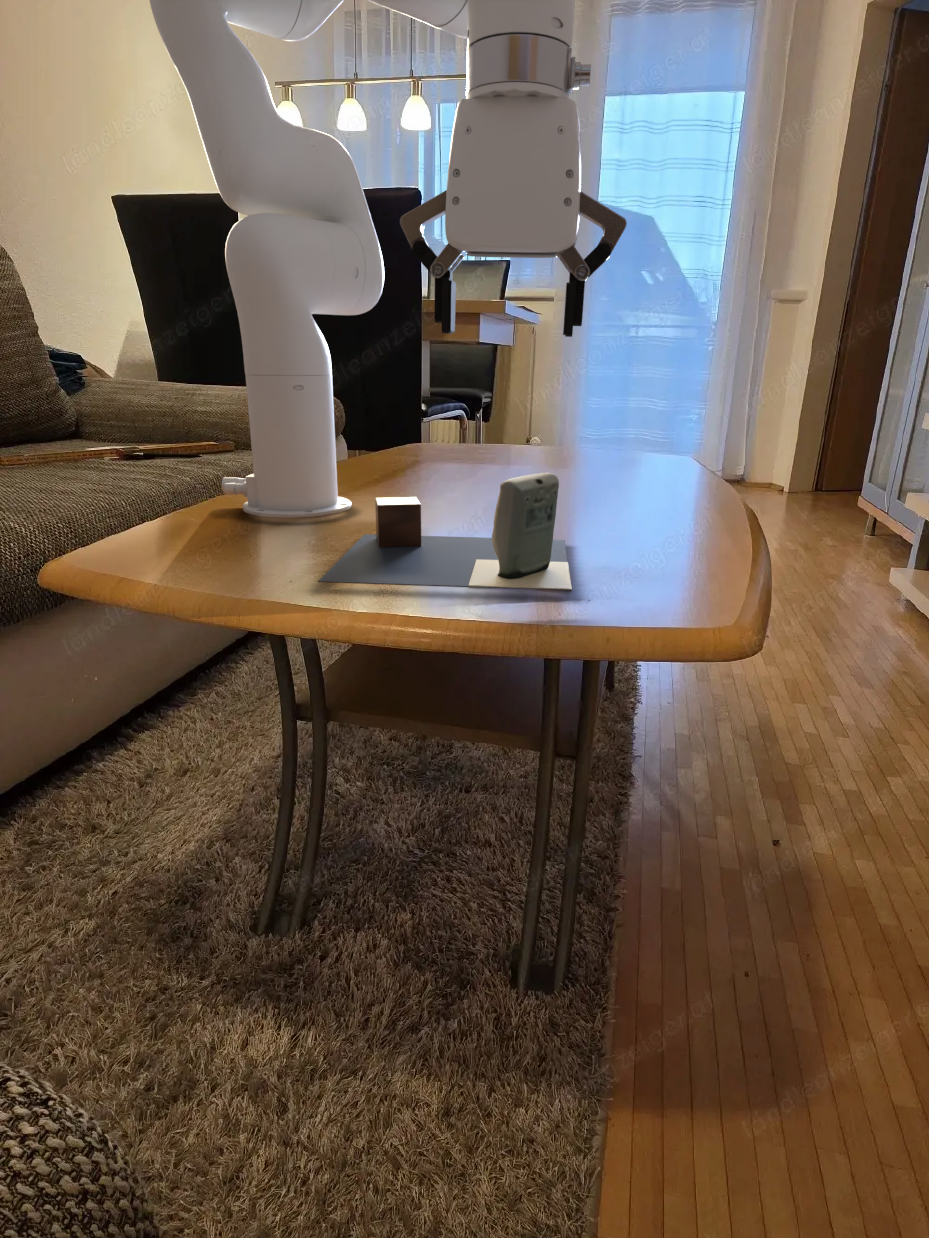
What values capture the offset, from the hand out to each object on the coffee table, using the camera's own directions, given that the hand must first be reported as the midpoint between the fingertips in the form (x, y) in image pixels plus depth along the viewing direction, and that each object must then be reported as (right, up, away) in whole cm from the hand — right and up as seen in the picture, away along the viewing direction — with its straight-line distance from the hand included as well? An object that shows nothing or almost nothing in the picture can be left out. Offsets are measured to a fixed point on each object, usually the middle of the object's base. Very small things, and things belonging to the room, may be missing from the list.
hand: (507, 334), depth 61 cm
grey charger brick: (+1, -19, +2) cm, 19 cm away
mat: (-4, -18, +6) cm, 20 cm away
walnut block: (-10, -16, +12) cm, 22 cm away
